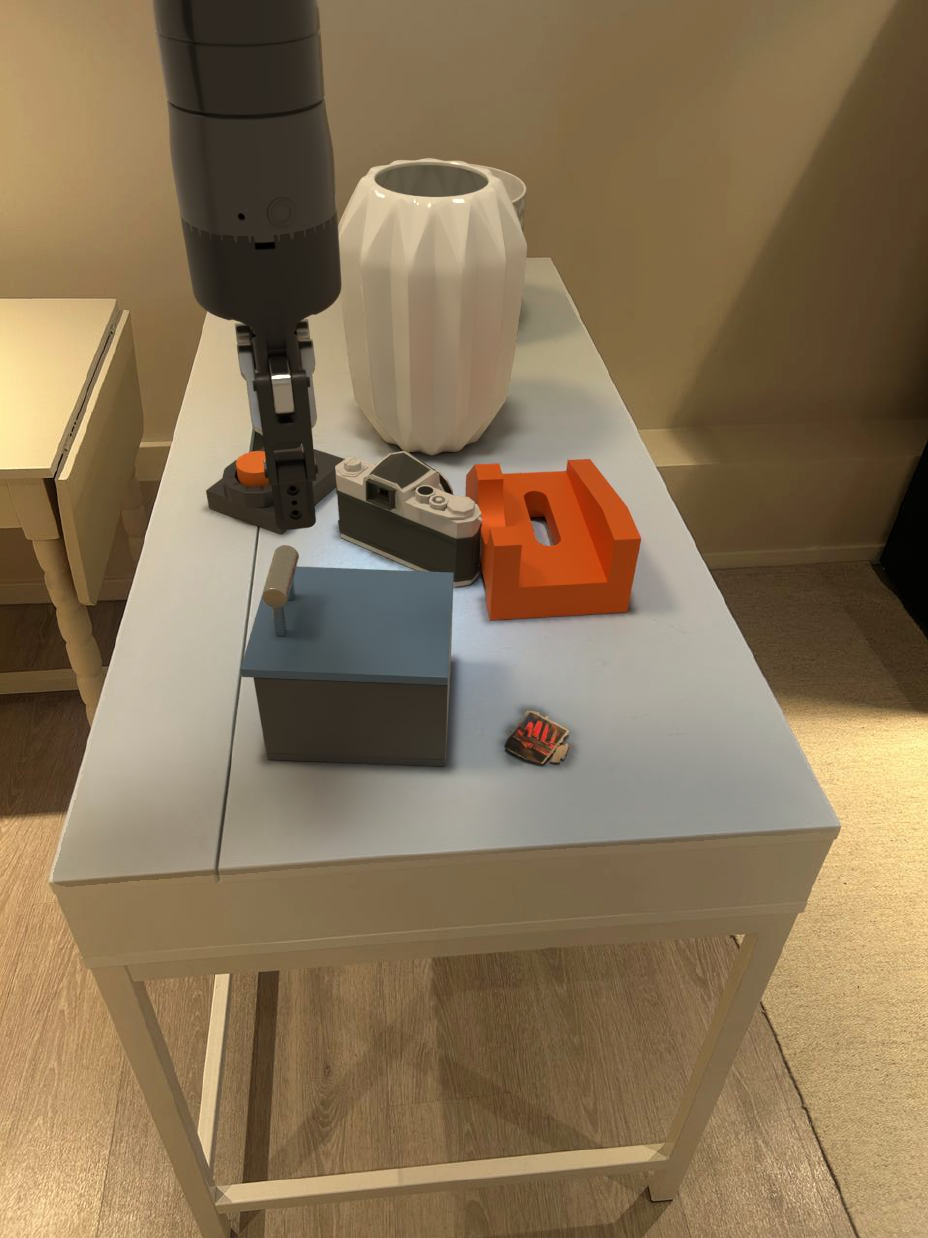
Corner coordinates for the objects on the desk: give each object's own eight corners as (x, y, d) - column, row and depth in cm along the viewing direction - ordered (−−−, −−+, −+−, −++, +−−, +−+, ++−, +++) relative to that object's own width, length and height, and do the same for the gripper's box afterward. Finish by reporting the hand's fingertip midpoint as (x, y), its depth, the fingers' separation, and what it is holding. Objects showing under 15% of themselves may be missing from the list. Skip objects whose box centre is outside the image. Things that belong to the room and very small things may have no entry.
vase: (369, 487, 99) (356, 220, 81) (329, 400, 113) (311, 155, 95) (539, 460, 104) (564, 202, 86) (481, 379, 118) (492, 143, 99)
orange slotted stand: (627, 612, 85) (641, 538, 80) (489, 620, 84) (494, 546, 78) (584, 499, 99) (593, 429, 93) (465, 505, 97) (467, 434, 92)
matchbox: (501, 754, 72) (501, 750, 72) (520, 708, 76) (520, 704, 75) (559, 771, 71) (560, 767, 71) (576, 724, 75) (577, 720, 74)
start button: (262, 492, 92) (260, 476, 90) (229, 480, 93) (227, 465, 92) (286, 472, 94) (285, 457, 93) (254, 461, 96) (252, 446, 94)
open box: (266, 759, 71) (253, 678, 65) (291, 654, 80) (281, 573, 74) (445, 766, 71) (447, 686, 65) (451, 660, 80) (453, 580, 74)
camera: (510, 550, 92) (517, 462, 85) (463, 597, 86) (466, 507, 80) (379, 497, 98) (376, 411, 91) (327, 537, 92) (319, 449, 86)
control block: (278, 537, 92) (274, 503, 89) (205, 510, 95) (199, 477, 92) (347, 476, 101) (345, 444, 98) (278, 454, 103) (275, 421, 101)
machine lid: (241, 677, 65) (231, 619, 62) (271, 573, 74) (263, 517, 70) (447, 685, 65) (449, 628, 62) (453, 580, 74) (455, 524, 70)
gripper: (179, 160, 50) (222, 429, 61) (177, 261, 39) (230, 564, 50) (320, 155, 51) (338, 419, 62) (355, 252, 41) (369, 548, 52)
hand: (290, 483), depth 56 cm, fingers open, 8 cm apart
